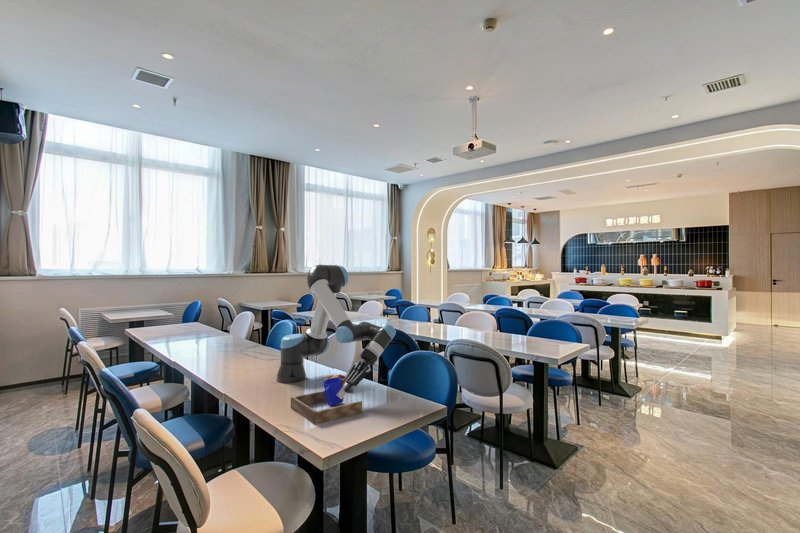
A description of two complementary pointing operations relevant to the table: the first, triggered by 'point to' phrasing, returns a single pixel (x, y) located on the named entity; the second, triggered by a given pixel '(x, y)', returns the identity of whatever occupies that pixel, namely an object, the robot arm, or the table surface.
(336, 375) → the croissant
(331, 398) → the mug
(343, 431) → the table surface
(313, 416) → the box
